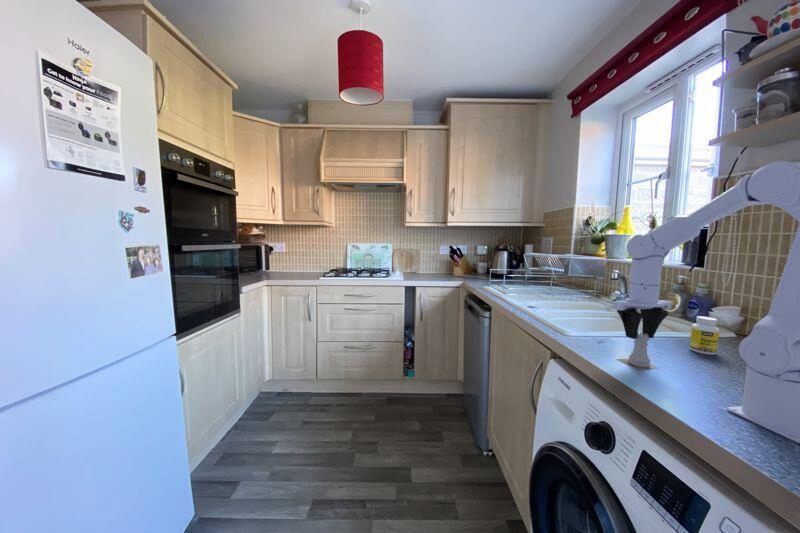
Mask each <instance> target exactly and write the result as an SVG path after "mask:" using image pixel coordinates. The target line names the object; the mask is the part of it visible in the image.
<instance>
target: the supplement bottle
mask: <svg viewBox="0 0 800 533" xmlns="http://www.w3.org/2000/svg"><path fill="white" fill-rule="evenodd" d="M695 321H696V323H693V324H692V325H691V330H690V338H689V345H688V346H689V350H691V351H693V352H696V353H699V354H703V355H710V356H711V355H712V356H713V355H716V354H717V351H718V344H719V338H720V337H719V336H720V328H719V327H717V326H716V325H718V319H717V318H714V317H709V316H701V315H699V316H698V315H697V316H696V320H695Z"/></svg>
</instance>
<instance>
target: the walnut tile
mask: <svg viewBox="0 0 800 533" xmlns="http://www.w3.org/2000/svg"><path fill="white" fill-rule="evenodd" d="M615 360H617V361H619V362H621V363H623V364H625V365H628V366H629V367H630V368H633V369H636V370H651V369H652V370H653V369H659V367H657V366H655V365H653V364H651V363H649V364H650V365H651V366H649V367H648V368H641V367H637V366H634V365H632V364H630V363H629V361H628V360H629V358H617V359H615Z"/></svg>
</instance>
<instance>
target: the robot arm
mask: <svg viewBox="0 0 800 533" xmlns="http://www.w3.org/2000/svg"><path fill="white" fill-rule="evenodd" d="M760 205H761V206H762V205H763V206H764V205H771V206H775V207H777V208H779V209H781V210H783V211H784V212H785V213H787V214H788V215H789V216H791V217H792V218H793V219H795V220H796V221H797V222H798V227H797V229H796V230H797V231H796V232H795V235H794V238H793V241H792V245H791V248H790V251H789V253H788V256H787V259H786V262H785V265H784V268H783V271H782V274H781V276H780V280H779V282H778V285H777V288H776V291H775V294H774V296H773V300H772V302H771V305H770V308H769V311H768V314H767V315H766V316H765V317H763V318H761V319H760V320H759V321H758V322H757V323H755V324H754V325H753V327H752V330H751V332H750V334H749V335H747V336H746V337H745V338H743V339H742V340H741V341H740V343H739V345H738V353H739V356H740V357H741V359H742V360H743V362H744V363H745V364H746V373H745V374H746V375H745V380H744V390H743V395H742V402H741V403H742V404H741V405H739V406H737V405H736V406H727V408H726V410H727V411H729V412H731V413H733V414H735V415H737V416H739V417H742V418H744V419H746V420H747V421H750V422H752V423H755V424H756V425H758V426H760V427H763V428H765V429H767V430H769V431H772V432H774V433H776V434H778V435H781V436H782V437H784V438H787V439H789V440H791V441H794V442H796V443H798V444H800V163H798V162H792V161H788V160H787V161H785V160H782V161H773V162H770V163H767V164H765V165H763V166H761V167H759V168H758V169H757V170H755V172H753V173H749V174H747V175H744V176H742V177H741V178H740V179H739V181H738V182H737V183H736V184H735V185H734V186H732V187H731V188H729V189H728V190H726V191H724V192H723V193H721V194H720V195H718V196H716V197H715V198H714V199H712V200H710V201H709V202H707V203H706V204H704V205H703V206H701V207H700V208H698V209H696V210H695V211H693V212H691V213H690V214H689V215H683V214H682V215H681V214H680V215H672V216H669V217H668V218H666V222H664V223H662V224H661V225H659V226H657V227H656V228H652V229H650V230H648V231H647V233H645V234H635V235H634V236H633V237H631V238H630V239H629V240H628V242H627V243H626V244H627V245H626V250H627V254H628V256H630V257H631V266H630V276H629V277H630V278H629V288H628V289H629V290H628V297H627V298H625V299H622V300H615V301H613V309H614V310H616V312H617V313H618V315H619V317H620V319H621V321H622V324H623V327H624V332H625V336H626V338H630V339H632V340H635V339H636V337H637V333H638V331H639V327H640V326H639V325H640V324H641V322H642V328H641V329H642V331H641V332H642V333H643V335H644V333H646V334H648V337H649V338H650V339H653V338H654V337H655V335H656V333H657V330H658V328H659V327H660V325H661V324H662V322H663V321H664V320H665V319H666V317H668V316H669V311H667V310H671V309H672V302H673V301H670V300H664V299H659V297H660V296H659V295H660V286H661V285H660V284H661V276H662V266H663V264H664V262H665V259H666V257H667V256H668V255H669V253H671V250H673V249H675V248H677V247H679V246H681V245H683V244H685V243H687V242H690V241H691V240H693V239H694V238H695V239H696V238H697V237H698V236H700V233H701V230H702V228H704V227H705V226H708V225H711V224H713V223H715V222H716V221H719V220H721V219H724V218H726V217H727V216H729V215H732V214H734V213H736V212H738V211H741V210H742V209H745V208H747V207H750V206H760ZM638 310H639V311H638Z"/></svg>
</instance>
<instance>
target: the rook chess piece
mask: <svg viewBox="0 0 800 533" xmlns="http://www.w3.org/2000/svg"><path fill="white" fill-rule="evenodd" d="M650 339H651V338H649V337H648V334H646V333H644V335H643V332H642V331H640V332H638V333H637V337H636V339H634V340H633V344H634V345H633V346H634V347H633V349H632V352H631V354H629V355H628V359H629V360H628V361H629V363H630V364H632V365H634V366H637V367H641V368H648V367H649V366H651V365H652V364H651V359H650V357H649V355H648V346H649V343H648V341H649V340H650ZM650 364H651V365H650Z"/></svg>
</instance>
